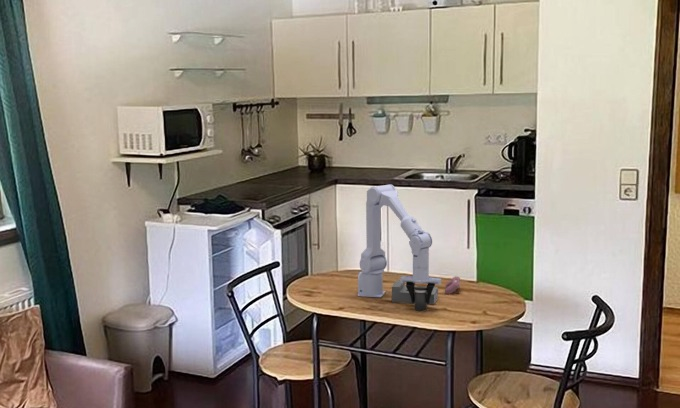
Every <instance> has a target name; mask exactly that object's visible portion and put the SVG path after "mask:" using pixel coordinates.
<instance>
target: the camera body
mask: <svg viewBox="0 0 680 408" xmlns="http://www.w3.org/2000/svg"><path fill="white" fill-rule="evenodd" d="M417 286H418V285H415V287H417ZM424 287H427V285H426V286H424ZM414 295H415V292H414ZM438 298H439V287H438V286H434V288H433V291H432V293H431V297H430V302H429V304H427V305H428V306H429V305H430V306H435V304H436V303H437V300H438ZM391 303H401V304H413V305H415V301H414V303H412V301H411V296H410V294H409V291H408V289H407V287H406V282H404V283H400V279H396V280H395V282H393V284H392V286H391Z"/></svg>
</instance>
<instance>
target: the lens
mask: <svg viewBox="0 0 680 408" xmlns="http://www.w3.org/2000/svg"><path fill="white" fill-rule="evenodd" d="M416 286H417V287H415V288H414V292H415V304H414V310H415V311H418V312H423V311H424V312H425V311H427V309H428V307H427V305H428V304H427V286H426V287H424V286H423V285H422V286H421V285H416Z"/></svg>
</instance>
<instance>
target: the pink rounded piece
mask: <svg viewBox="0 0 680 408" xmlns="http://www.w3.org/2000/svg"><path fill="white" fill-rule="evenodd" d="M460 281H461V277H459V276H456V275H455V276H453V277H452V279H450V280H449V281H448V282H446V284H445V287H446V288H445V290H444V293H445V294H446V295H450V294H452V293H455V292H456V291H457V290H458V289H460V287H461V285H460V283H461V282H460Z"/></svg>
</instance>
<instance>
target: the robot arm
mask: <svg viewBox="0 0 680 408" xmlns="http://www.w3.org/2000/svg"><path fill="white" fill-rule="evenodd" d="M397 190H398V189H396V188H395V186H394V185H393V184H392V183H391V184H389V183H388V184H385V185H384V184H383V185H378V186H375V185H374V186H371V187H370V188H369V189H367V190H366V201H365V212H366V213H365V215H366V216H365V218H366V219H365V221H366V222H365V224H366V225H365V226H366V232H365V233H366V248H365V249H364V250H363V251H362V252H361V253H360V260H359V268H360V270H361V271H360V272H359V273H358V277H357V296H358V297H365V298H366V297H368V298H382V297H383V296H384V295H385V293H386V290H384V288H383V285H384V284H383V283H384V281H383V280H384V279H383V278H384V277H383V275H384V274H383V273H384V272H385V269H386V268H387V265H388V261H387V257H386V251H385V250H383V249H382V247H381V245H382V244H381V243H382V242H381V241H382V240H381V209H382V207H384V206H386V207H389V209H391V211H392V212H393V214H395V215H396V217H397V218H398V220H399V221H400V228H401V229H402V231H403V233H405V234H406V236H407V238H408V240H409V241H408V245H409V247H410V249H411V253H412V275H411V276H410V275H409V276H407V275H405V276H404V275H403V276H401V275H400V278H399V280H400V283H404V282H405V285H406V287H407V289H408V291H409V294H410V296H411V301H412V303H411V304H413V303H414V301H415V295H414V288H415V286H416V284H423V285H424V284H425V285H426V287H427V305H428V304H429V302H430V297H431V293H432V291H433V288H434V287H436V285H437V286H441V285H442V278H440V277H439V278H437V277H431V276H429V275H430V274H429V273H430V271H429V265H430V264H429V263H430V261H429V260H430V257H429V256H430V253H429V251H430V248H431V247H432V245H433V237H432V236H431V234H430V233H429V232H427V231H425V230H424V229H422V227H421V226H420V225H419V223H418V222H417V219H416V218H415V217H414V216H410V215H409V214H408V212H407V210H406V209H405V208H404V206H403V204H402V202H401V200H400V198H399V192H398V191H397Z"/></svg>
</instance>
